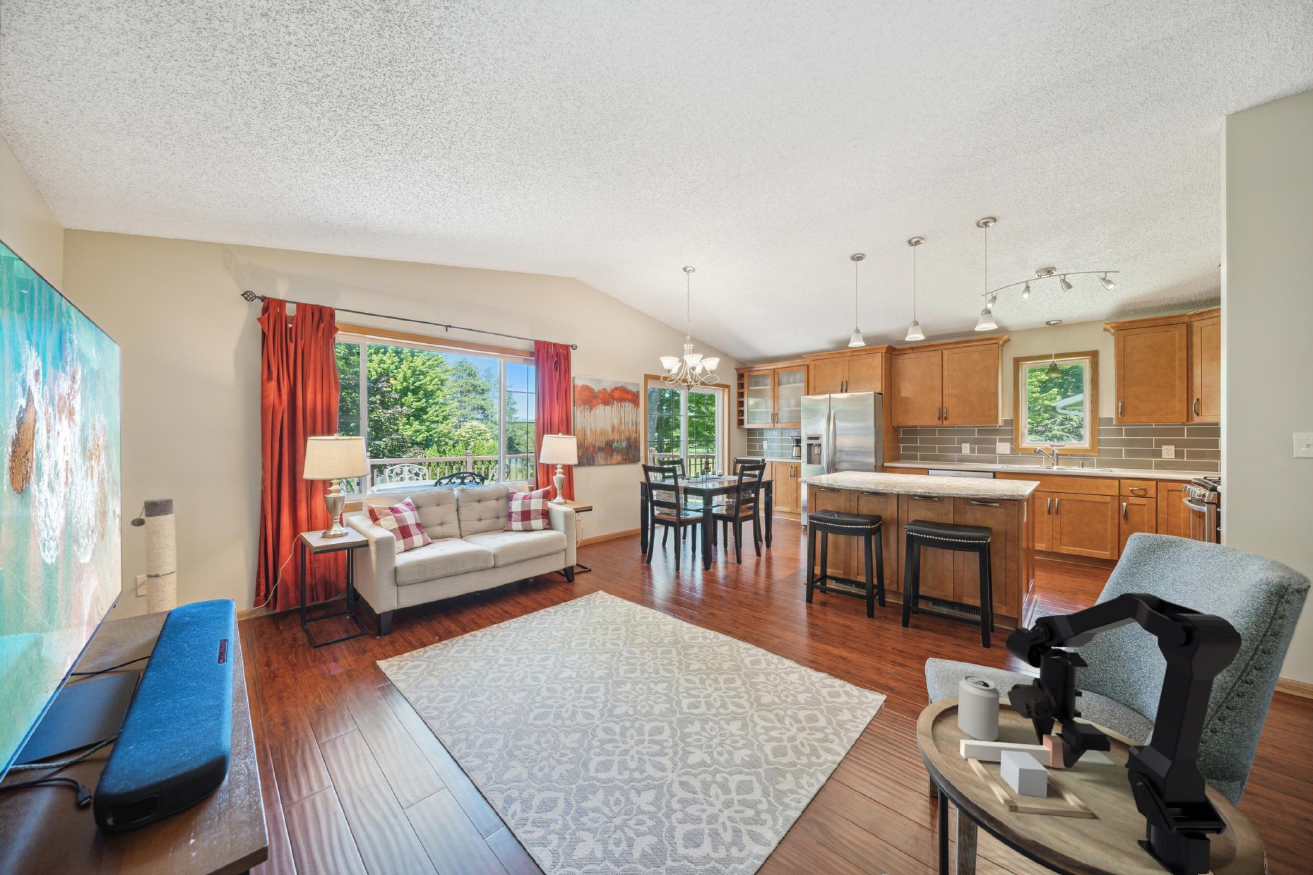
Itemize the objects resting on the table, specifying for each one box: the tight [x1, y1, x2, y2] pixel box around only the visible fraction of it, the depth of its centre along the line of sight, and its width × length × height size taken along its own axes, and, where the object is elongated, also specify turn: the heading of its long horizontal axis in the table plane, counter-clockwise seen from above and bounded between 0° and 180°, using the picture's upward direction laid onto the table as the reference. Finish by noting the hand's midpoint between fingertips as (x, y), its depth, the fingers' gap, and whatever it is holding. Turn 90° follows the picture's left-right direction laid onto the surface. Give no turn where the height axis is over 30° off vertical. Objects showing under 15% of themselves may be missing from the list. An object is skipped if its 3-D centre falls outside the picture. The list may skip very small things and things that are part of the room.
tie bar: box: [959, 735, 1067, 769], centre depth 97 cm, size 2×20×5 cm, turn 86°
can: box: [957, 674, 1000, 742], centre depth 106 cm, size 8×8×12 cm
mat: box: [1035, 733, 1115, 766], centre depth 102 cm, size 9×9×1 cm
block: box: [1000, 750, 1048, 798], centre depth 90 cm, size 5×5×5 cm
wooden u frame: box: [967, 758, 1094, 819], centre depth 89 cm, size 12×14×1 cm
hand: (1054, 756), depth 96 cm, fingers open, 6 cm apart
